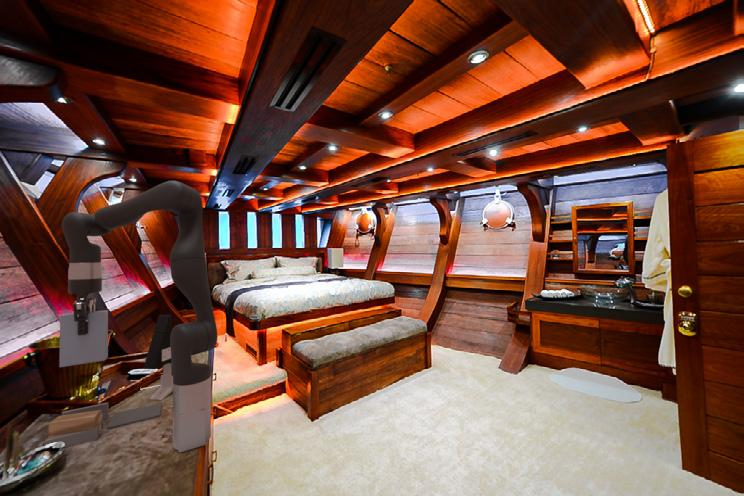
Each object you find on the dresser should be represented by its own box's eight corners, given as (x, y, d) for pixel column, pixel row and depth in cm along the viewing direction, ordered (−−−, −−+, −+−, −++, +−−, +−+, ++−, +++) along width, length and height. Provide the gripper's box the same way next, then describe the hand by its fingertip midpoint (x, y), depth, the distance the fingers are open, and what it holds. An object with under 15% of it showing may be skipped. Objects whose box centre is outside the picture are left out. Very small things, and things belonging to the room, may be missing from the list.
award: (154, 403, 105) (154, 318, 106) (142, 402, 106) (142, 318, 107) (188, 385, 120) (189, 311, 121) (178, 384, 121) (178, 310, 122)
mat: (159, 416, 96) (159, 415, 96) (106, 429, 89) (106, 427, 89) (161, 404, 104) (162, 402, 104) (113, 415, 98) (113, 413, 98)
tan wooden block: (97, 439, 85) (97, 421, 85) (44, 452, 79) (44, 433, 79) (108, 417, 96) (108, 402, 96) (62, 428, 90) (62, 411, 90)
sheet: (104, 360, 91) (105, 311, 92) (59, 367, 86) (60, 315, 87) (107, 356, 95) (108, 310, 95) (64, 363, 90) (64, 313, 90)
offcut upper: (94, 428, 84) (94, 416, 84) (48, 436, 81) (48, 423, 81) (101, 421, 88) (101, 409, 88) (58, 428, 85) (58, 416, 85)
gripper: (95, 278, 87) (95, 336, 87) (106, 275, 99) (106, 327, 99) (60, 279, 83) (59, 340, 83) (76, 277, 95) (75, 330, 95)
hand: (85, 332), depth 91 cm, fingers closed on sheet, 4 cm apart
